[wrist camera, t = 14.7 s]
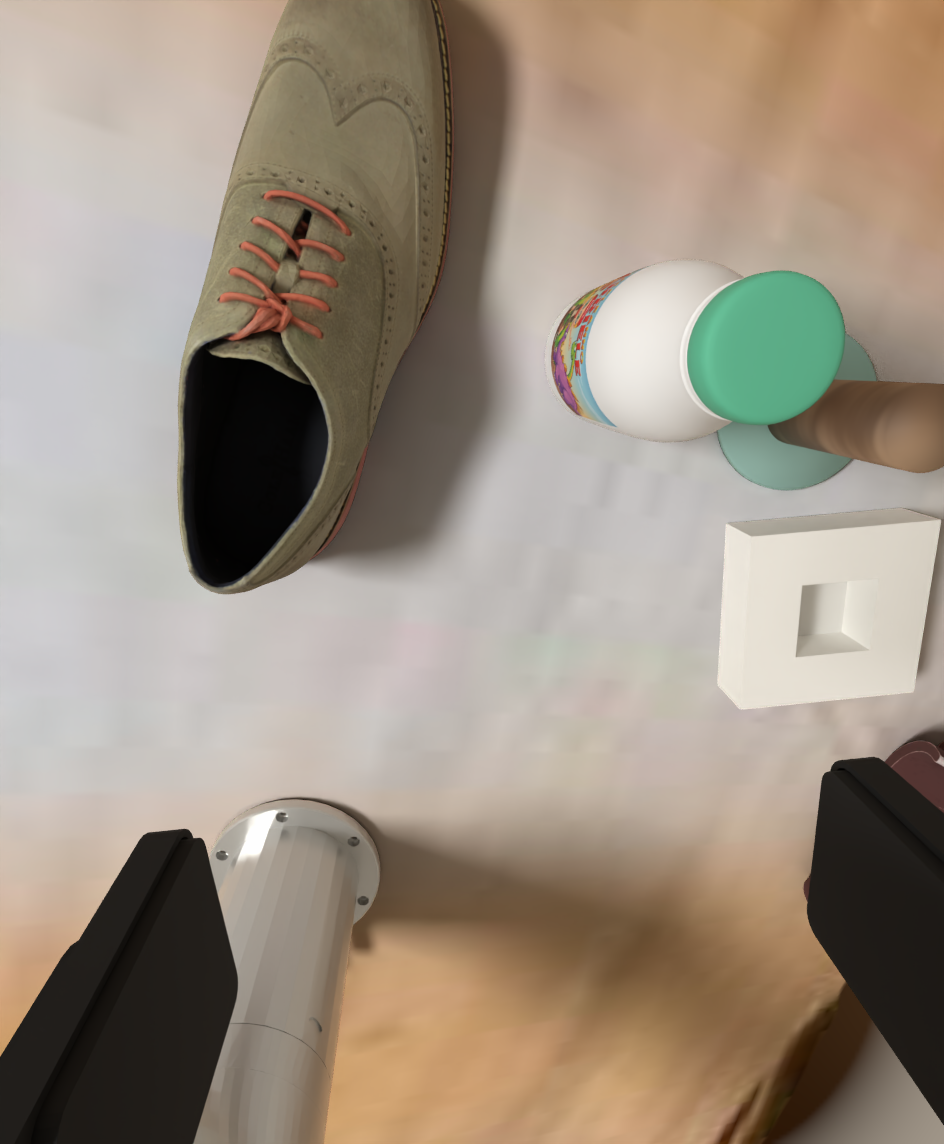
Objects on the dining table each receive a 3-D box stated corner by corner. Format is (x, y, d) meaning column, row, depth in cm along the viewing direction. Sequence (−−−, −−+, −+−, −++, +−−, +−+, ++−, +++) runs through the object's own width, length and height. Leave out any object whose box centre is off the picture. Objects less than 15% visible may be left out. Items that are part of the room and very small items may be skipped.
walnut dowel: (825, 441, 40) (964, 469, 30) (763, 446, 40) (881, 476, 30) (832, 376, 39) (980, 381, 29) (769, 380, 39) (894, 387, 29)
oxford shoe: (496, 14, 33) (531, -167, 22) (378, 580, 42) (361, 658, 31) (278, -58, 32) (196, -292, 20) (205, 544, 41) (120, 613, 29)
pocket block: (878, 668, 46) (913, 692, 43) (717, 684, 46) (740, 709, 43) (901, 507, 43) (941, 519, 39) (726, 523, 42) (751, 536, 39)
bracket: (1017, 748, 46) (1083, 844, 37) (862, 885, 54) (887, 991, 45) (935, 703, 47) (980, 786, 38) (795, 844, 55) (806, 940, 46)
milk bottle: (688, 313, 38) (947, 261, 19) (639, 438, 40) (829, 505, 21) (568, 268, 37) (717, 167, 18) (524, 400, 39) (616, 434, 20)
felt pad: (861, 481, 42) (867, 483, 41) (712, 494, 42) (716, 496, 41) (880, 319, 39) (887, 318, 38) (720, 331, 38) (724, 330, 38)
